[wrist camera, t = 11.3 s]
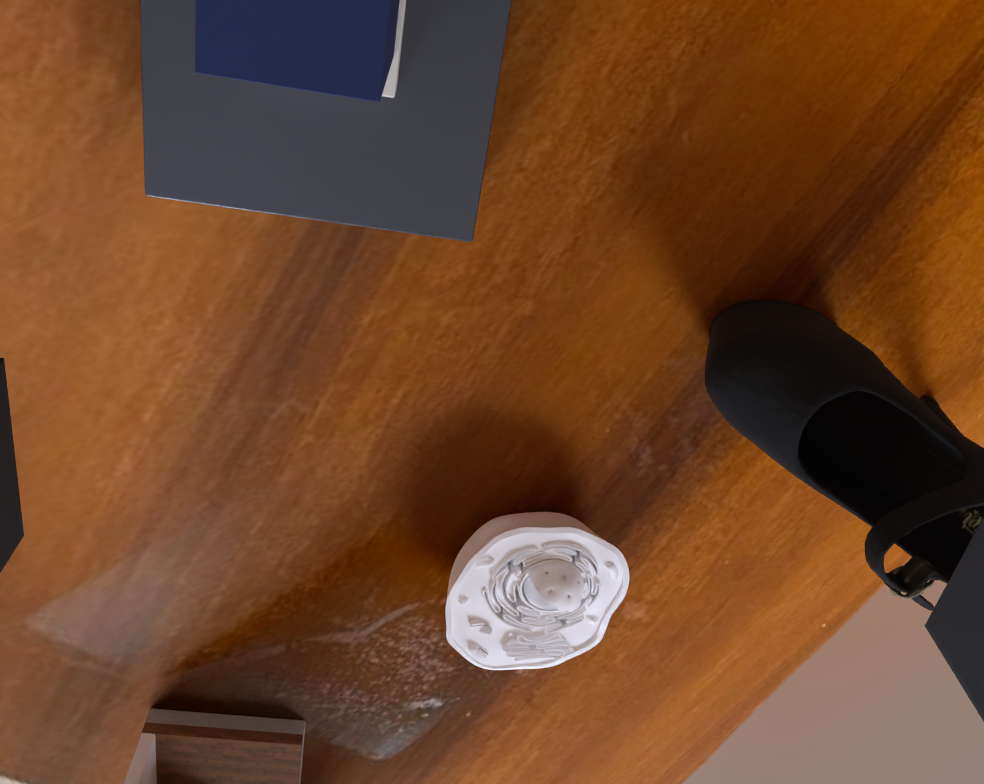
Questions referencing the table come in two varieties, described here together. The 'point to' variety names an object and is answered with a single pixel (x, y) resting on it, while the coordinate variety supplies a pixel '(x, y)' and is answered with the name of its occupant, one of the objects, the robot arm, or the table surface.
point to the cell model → (532, 591)
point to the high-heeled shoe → (850, 434)
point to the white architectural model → (217, 749)
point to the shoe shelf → (330, 127)
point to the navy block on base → (303, 44)
